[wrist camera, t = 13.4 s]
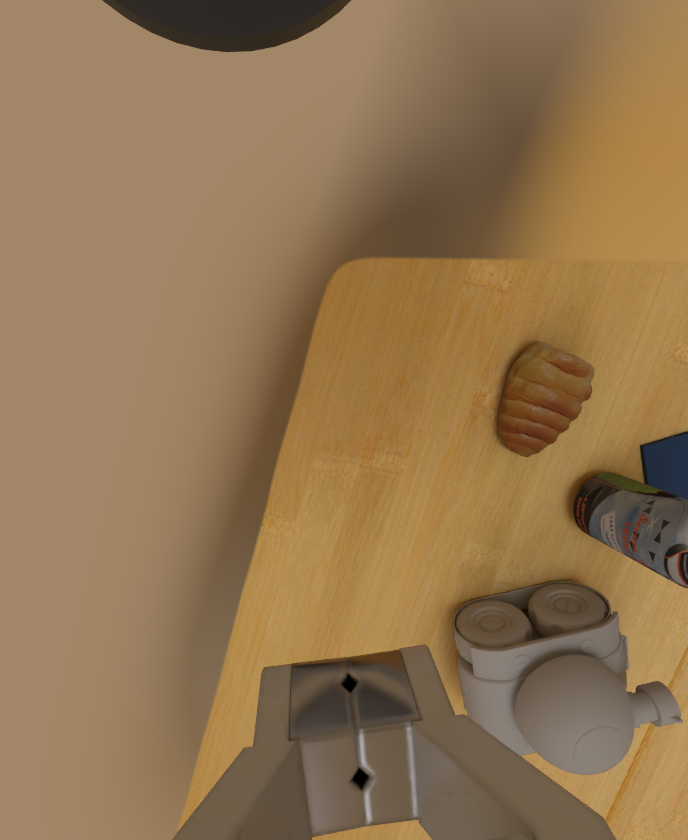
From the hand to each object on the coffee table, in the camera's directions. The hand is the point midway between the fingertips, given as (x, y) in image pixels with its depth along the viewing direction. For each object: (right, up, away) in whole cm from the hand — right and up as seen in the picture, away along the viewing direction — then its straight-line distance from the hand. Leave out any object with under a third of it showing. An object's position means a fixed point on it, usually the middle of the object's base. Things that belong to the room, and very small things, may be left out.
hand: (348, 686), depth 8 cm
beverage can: (+24, -2, +35) cm, 42 cm away
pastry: (+17, +7, +32) cm, 37 cm away
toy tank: (+17, -16, +37) cm, 44 cm away
